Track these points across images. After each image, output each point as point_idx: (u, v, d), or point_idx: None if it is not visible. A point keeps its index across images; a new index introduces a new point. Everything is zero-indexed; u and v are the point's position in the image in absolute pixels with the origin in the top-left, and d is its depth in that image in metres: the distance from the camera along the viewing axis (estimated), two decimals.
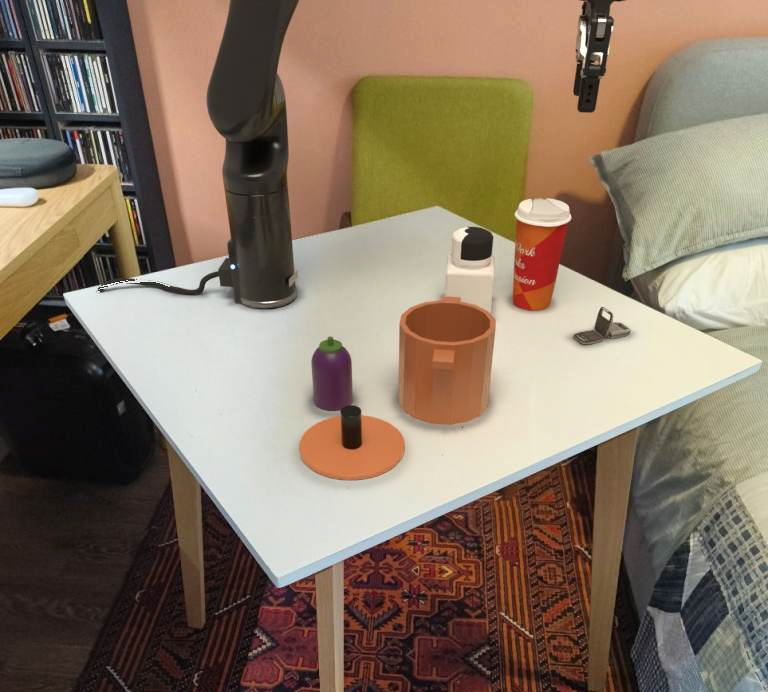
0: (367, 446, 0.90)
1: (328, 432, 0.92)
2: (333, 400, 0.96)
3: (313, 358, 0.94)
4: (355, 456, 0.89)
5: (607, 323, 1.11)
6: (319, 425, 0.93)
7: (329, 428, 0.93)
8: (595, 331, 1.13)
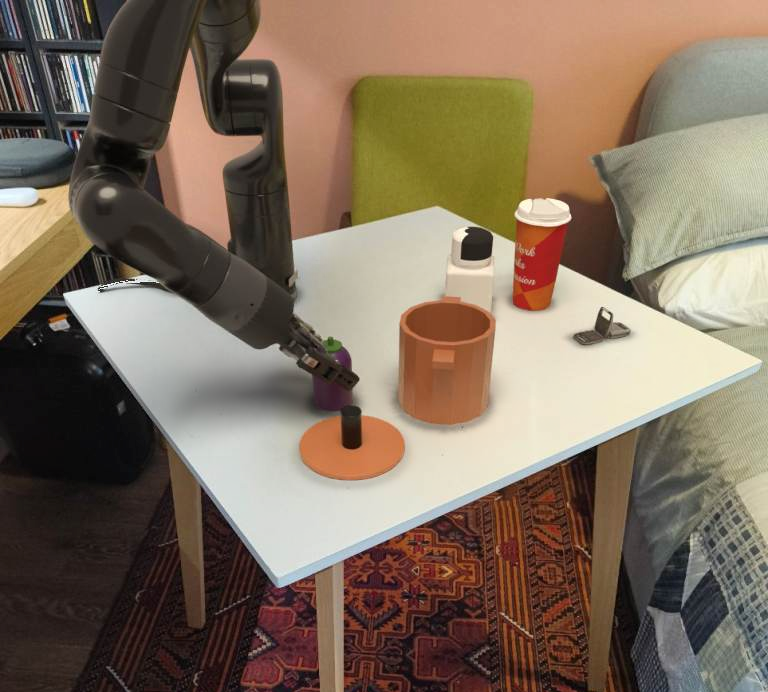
0: (367, 446, 0.90)
1: (328, 432, 0.92)
2: (333, 400, 0.96)
3: None
4: (355, 456, 0.89)
5: (607, 322, 1.11)
6: (319, 425, 0.93)
7: (329, 428, 0.93)
8: (595, 331, 1.13)
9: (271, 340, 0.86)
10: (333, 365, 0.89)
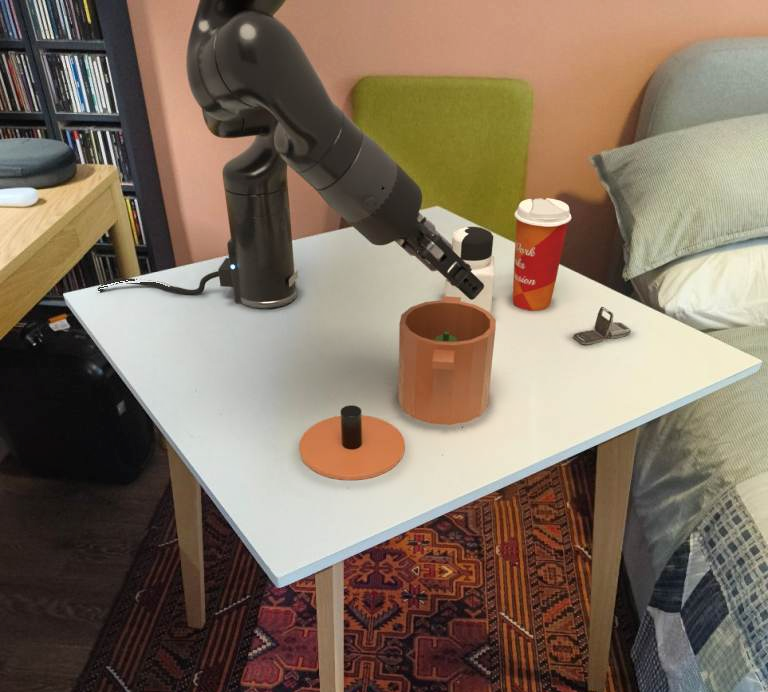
0: (367, 446, 0.90)
1: (328, 432, 0.92)
2: None
3: None
4: (355, 456, 0.89)
5: (607, 322, 1.11)
6: (319, 425, 0.93)
7: (329, 428, 0.93)
8: (595, 331, 1.13)
9: (398, 232, 0.78)
10: (461, 261, 0.79)
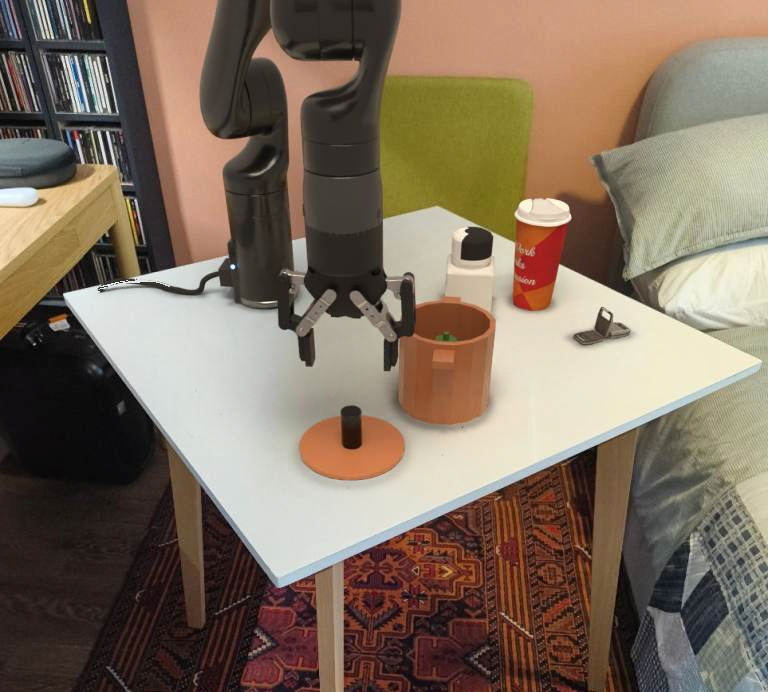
0: (367, 446, 0.90)
1: (328, 432, 0.92)
2: None
3: None
4: (355, 456, 0.89)
5: (607, 323, 1.11)
6: (319, 425, 0.93)
7: (329, 428, 0.93)
8: (595, 331, 1.13)
9: (379, 262, 0.75)
10: (415, 310, 0.80)
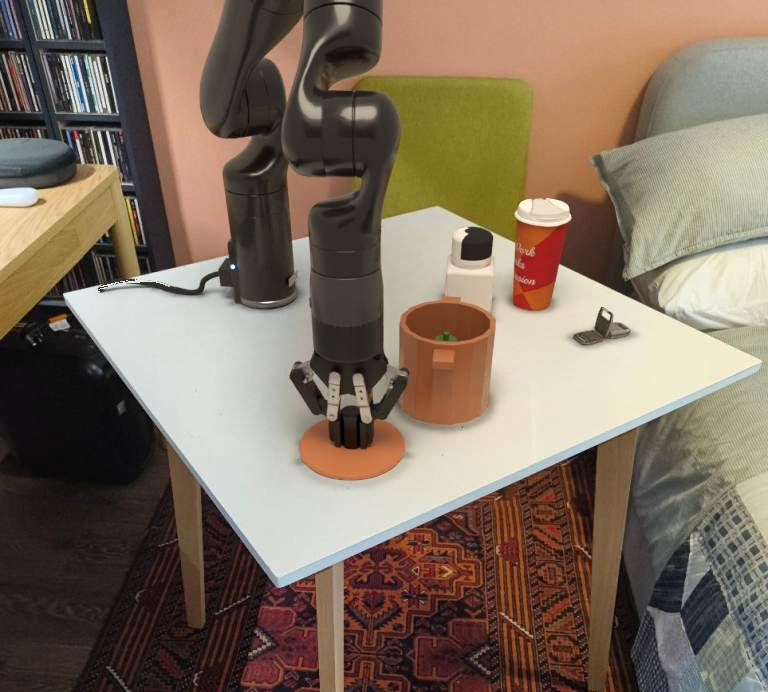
0: (367, 446, 0.90)
1: (328, 432, 0.92)
2: None
3: None
4: (355, 456, 0.89)
5: (607, 322, 1.11)
6: (319, 425, 0.93)
7: None
8: (595, 331, 1.13)
9: (380, 348, 0.81)
10: None
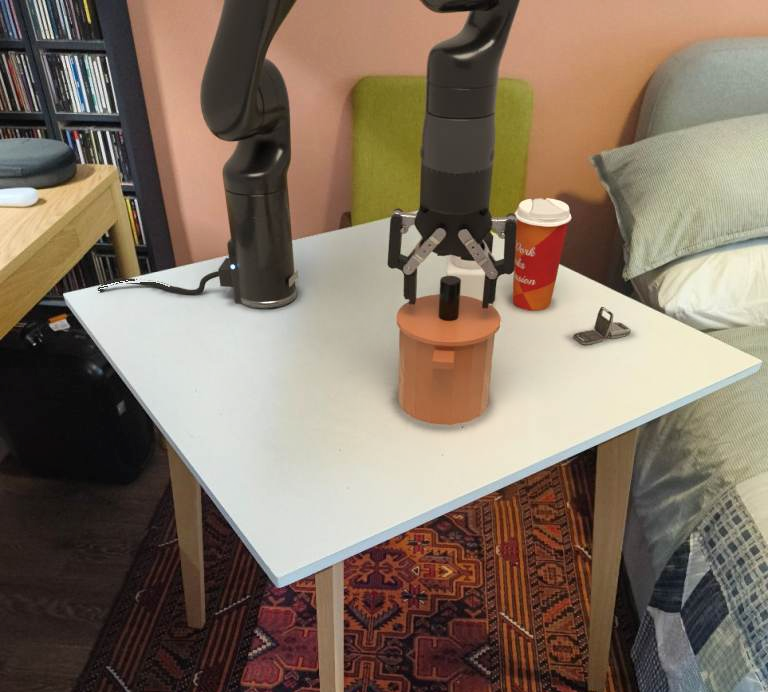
0: (464, 318, 0.91)
1: (423, 307, 0.93)
2: None
3: None
4: (454, 326, 0.90)
5: (607, 322, 1.11)
6: None
7: (423, 304, 0.94)
8: (595, 331, 1.13)
9: (488, 202, 0.81)
10: None
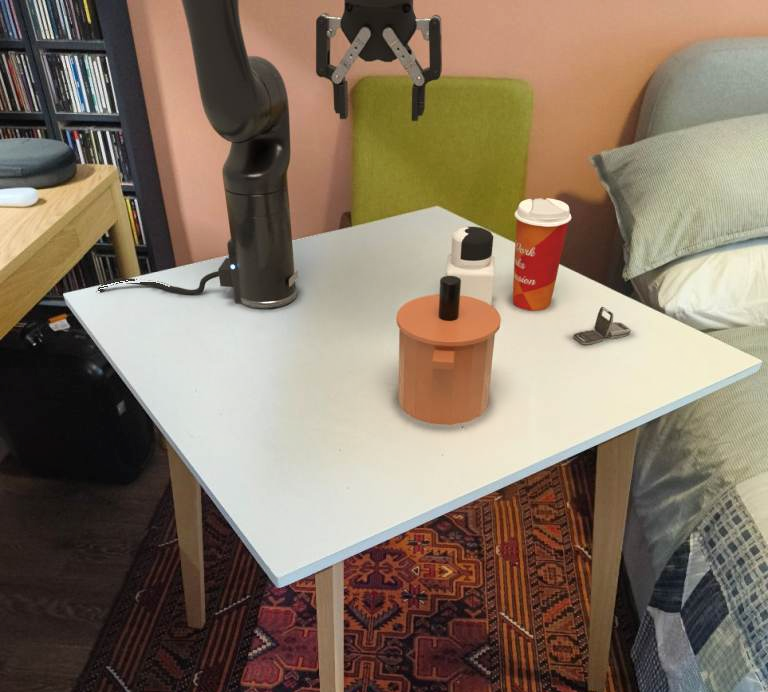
0: (464, 318, 0.91)
1: (423, 307, 0.93)
2: None
3: None
4: (454, 326, 0.90)
5: (607, 323, 1.11)
6: (413, 302, 0.94)
7: (423, 304, 0.94)
8: (595, 331, 1.13)
9: None
10: (441, 56, 0.87)
